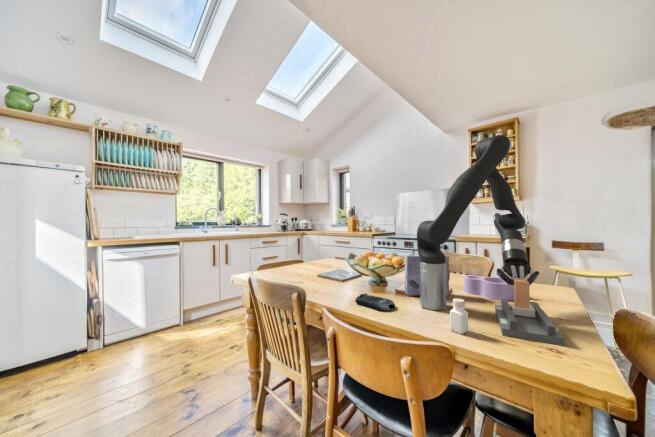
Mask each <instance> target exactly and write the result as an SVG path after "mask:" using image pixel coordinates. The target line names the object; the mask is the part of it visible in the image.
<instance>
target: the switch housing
mask: <svg viewBox="0 0 655 437" xmlns="http://www.w3.org/2000/svg"><path fill="white" fill-rule="evenodd" d="M530 305H532V307H533V308H534V310H535V318H534V317H526V316H519V315H513V313H512V310H511V308H510V303H509V301H507V300H506V299H502V298H501V301H500V305H499V304H495V305H494V312H495V316H496V319H497V321H498V326H499V329H500V332H501V335H502V336H505V337H511V338H517V339H524V340H530V341H534V342H540V343H547V344H553V345H560V346H565V347H566V338H565V336H564V335H563V334H562V333H561V331H560V330H559V328H557V326H556V325H555V324H554V322H553V320H552V319H551V318H550V316H548V314H547V313H546V312H545V310H543V309H542V307H541V306H540V305H539V304H538V303H537V302H536V301H530Z"/></svg>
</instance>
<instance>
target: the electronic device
mask: <svg viewBox="0 0 655 437" xmlns="http://www.w3.org/2000/svg"><path fill="white" fill-rule="evenodd" d="M354 302H355V303H356V304H357V305H360V306H361V305H362V306H364V307H368V308H372V309H374V310H377V311H381V312H388V311H393V310H394V309H395V308H396V303H395V302H394V301H393V300H391V299H388V298H385V297H380V296H376V295H370V294H367V293H366V292H365V293H360V294H359V295H358V296H356V297H355V300H354ZM390 307H392V308H390Z"/></svg>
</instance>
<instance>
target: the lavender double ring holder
mask: <svg viewBox="0 0 655 437" xmlns="http://www.w3.org/2000/svg"><path fill="white" fill-rule="evenodd" d="M463 291H464V293H466V294H468V295H474V296H475V295H476V296H481V297H483V298H486V299H489V300H494V301H499V302H501V298H502V299H506V300H507V302H514V286H513V285H511V284H510V285H508V284H507V283H506V282H505V281H504V280H503V279H501V278H500V277H499V276H498V277H497V276H481V275H475V274H474V275H473V274H467V275H466V276H463Z"/></svg>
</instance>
